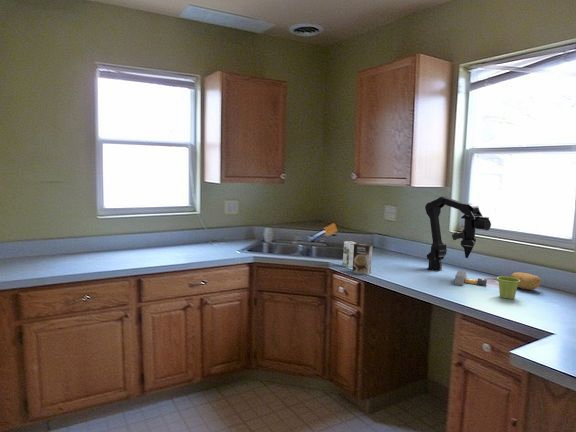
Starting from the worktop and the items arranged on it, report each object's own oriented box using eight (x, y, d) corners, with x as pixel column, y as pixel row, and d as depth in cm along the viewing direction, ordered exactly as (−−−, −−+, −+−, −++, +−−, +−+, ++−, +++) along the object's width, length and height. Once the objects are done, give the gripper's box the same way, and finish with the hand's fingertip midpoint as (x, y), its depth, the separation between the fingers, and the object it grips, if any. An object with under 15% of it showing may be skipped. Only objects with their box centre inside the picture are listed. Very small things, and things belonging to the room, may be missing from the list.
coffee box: (351, 272, 227) (353, 244, 226) (355, 270, 233) (357, 242, 231) (368, 275, 223) (369, 246, 221) (371, 272, 229) (372, 244, 227)
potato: (517, 284, 214) (519, 269, 213) (544, 292, 201) (546, 276, 201) (505, 286, 210) (506, 270, 209) (531, 294, 197) (533, 277, 196)
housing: (454, 284, 210) (455, 275, 209) (457, 278, 222) (458, 270, 222) (463, 285, 208) (463, 276, 208) (465, 279, 220) (466, 271, 220)
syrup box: (342, 265, 245) (343, 241, 243) (351, 264, 247) (352, 240, 246) (346, 267, 240) (348, 242, 238) (355, 266, 242) (357, 242, 240)
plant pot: (490, 295, 194) (492, 277, 193) (505, 293, 197) (507, 275, 196) (507, 301, 185) (509, 282, 184) (523, 299, 188) (525, 280, 187)
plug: (458, 282, 214) (458, 276, 214) (459, 281, 217) (459, 275, 217) (486, 286, 208) (486, 280, 208) (486, 285, 211) (486, 278, 211)
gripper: (455, 224, 232) (453, 251, 234) (451, 228, 215) (449, 257, 217) (477, 226, 227) (474, 254, 228) (474, 230, 210) (472, 260, 212)
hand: (467, 256), depth 222 cm, fingers open, 9 cm apart
